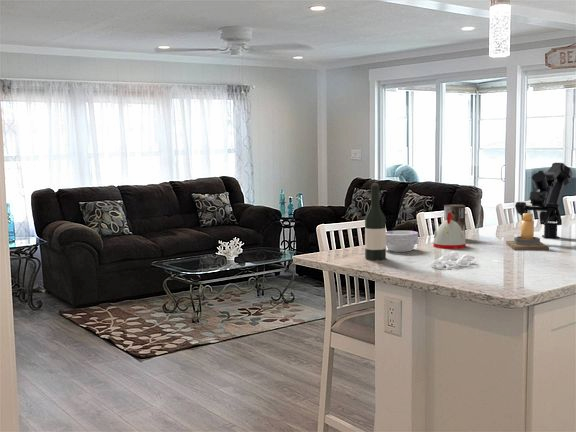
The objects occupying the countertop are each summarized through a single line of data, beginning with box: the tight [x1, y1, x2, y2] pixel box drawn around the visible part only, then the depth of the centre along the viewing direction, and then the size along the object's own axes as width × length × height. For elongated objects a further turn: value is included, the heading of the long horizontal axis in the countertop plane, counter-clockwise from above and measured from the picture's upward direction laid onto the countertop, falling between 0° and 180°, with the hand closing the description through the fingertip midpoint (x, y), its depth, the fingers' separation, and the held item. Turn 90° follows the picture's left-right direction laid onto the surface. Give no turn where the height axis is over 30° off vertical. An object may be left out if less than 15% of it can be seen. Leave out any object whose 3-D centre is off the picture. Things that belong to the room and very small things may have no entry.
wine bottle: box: [364, 183, 387, 261], centre depth 268 cm, size 8×8×30 cm
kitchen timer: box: [432, 213, 467, 250], centre depth 296 cm, size 14×14×15 cm
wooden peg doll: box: [520, 212, 535, 239], centre depth 290 cm, size 5×5×13 cm
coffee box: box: [443, 204, 466, 235], centre depth 316 cm, size 9×6×16 cm
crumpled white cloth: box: [428, 250, 477, 271], centre depth 252 cm, size 19×14×4 cm
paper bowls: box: [386, 230, 419, 253], centre depth 288 cm, size 15×15×8 cm
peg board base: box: [505, 235, 550, 251], centre depth 290 cm, size 16×14×4 cm
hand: (533, 223), depth 295 cm, fingers open, 9 cm apart
